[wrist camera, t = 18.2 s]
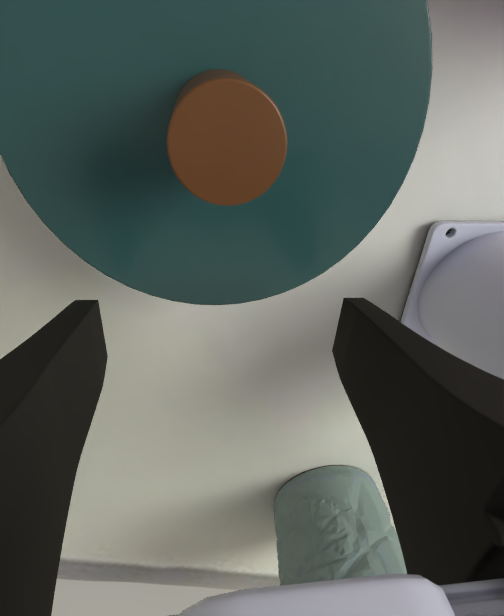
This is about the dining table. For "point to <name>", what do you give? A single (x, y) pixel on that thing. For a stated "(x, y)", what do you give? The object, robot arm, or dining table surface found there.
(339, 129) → the lid
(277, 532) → the green embossed cup
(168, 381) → the dining table surface
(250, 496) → the dining table surface
